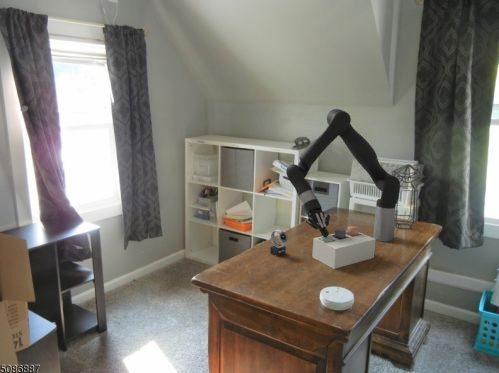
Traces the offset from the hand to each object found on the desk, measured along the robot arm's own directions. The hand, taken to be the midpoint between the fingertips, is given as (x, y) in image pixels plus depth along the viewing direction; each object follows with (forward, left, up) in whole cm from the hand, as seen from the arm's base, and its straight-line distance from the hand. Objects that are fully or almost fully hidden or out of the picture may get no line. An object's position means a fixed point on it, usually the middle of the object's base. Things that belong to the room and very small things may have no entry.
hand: (326, 236), depth 182 cm
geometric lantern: (-69, -14, -11) cm, 71 cm away
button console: (-8, +3, -11) cm, 14 cm away
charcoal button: (-8, 0, -3) cm, 9 cm away
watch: (+15, -15, -11) cm, 24 cm away
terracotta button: (-16, 0, -3) cm, 16 cm away
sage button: (0, 0, -5) cm, 5 cm away
